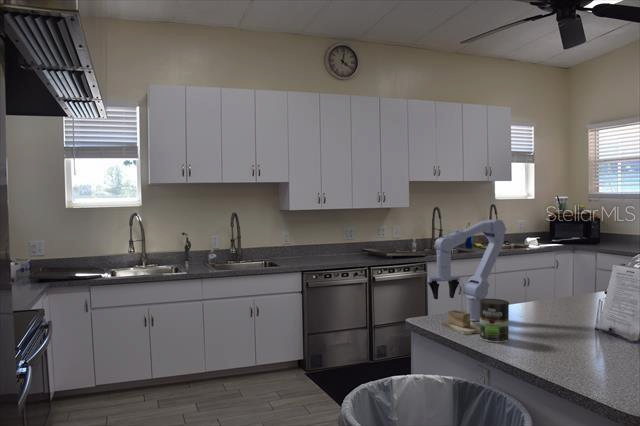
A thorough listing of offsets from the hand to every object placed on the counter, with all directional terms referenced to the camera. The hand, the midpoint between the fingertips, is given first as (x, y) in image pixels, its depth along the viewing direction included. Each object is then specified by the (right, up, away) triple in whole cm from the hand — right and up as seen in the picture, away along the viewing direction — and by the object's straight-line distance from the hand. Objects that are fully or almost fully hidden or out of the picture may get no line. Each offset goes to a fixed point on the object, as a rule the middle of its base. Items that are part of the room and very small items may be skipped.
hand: (443, 298), depth 214 cm
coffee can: (+12, -11, -27) cm, 32 cm away
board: (+6, -10, -11) cm, 16 cm away
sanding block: (+4, -9, -10) cm, 14 cm away
